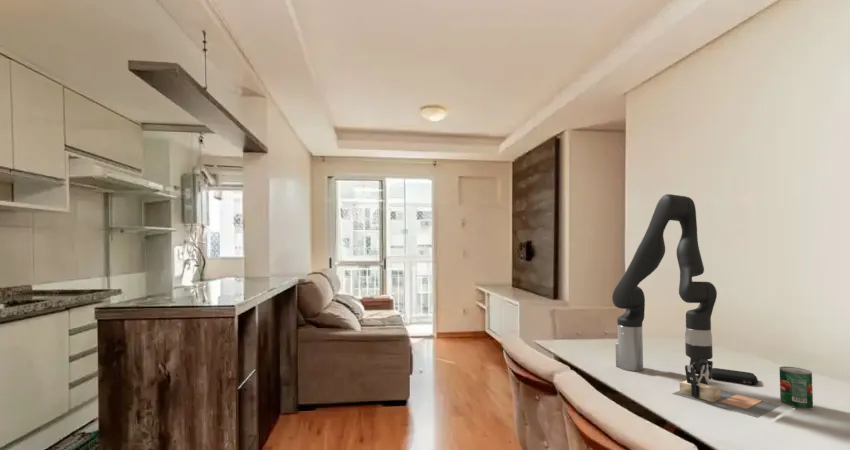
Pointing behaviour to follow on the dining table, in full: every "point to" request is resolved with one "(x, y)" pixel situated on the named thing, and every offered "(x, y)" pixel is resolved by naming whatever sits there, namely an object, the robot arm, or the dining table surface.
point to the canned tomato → (796, 387)
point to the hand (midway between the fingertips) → (699, 394)
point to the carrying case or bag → (734, 376)
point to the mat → (738, 403)
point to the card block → (701, 391)
